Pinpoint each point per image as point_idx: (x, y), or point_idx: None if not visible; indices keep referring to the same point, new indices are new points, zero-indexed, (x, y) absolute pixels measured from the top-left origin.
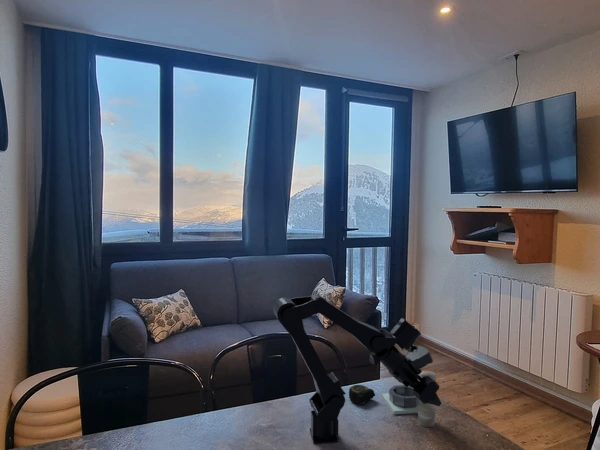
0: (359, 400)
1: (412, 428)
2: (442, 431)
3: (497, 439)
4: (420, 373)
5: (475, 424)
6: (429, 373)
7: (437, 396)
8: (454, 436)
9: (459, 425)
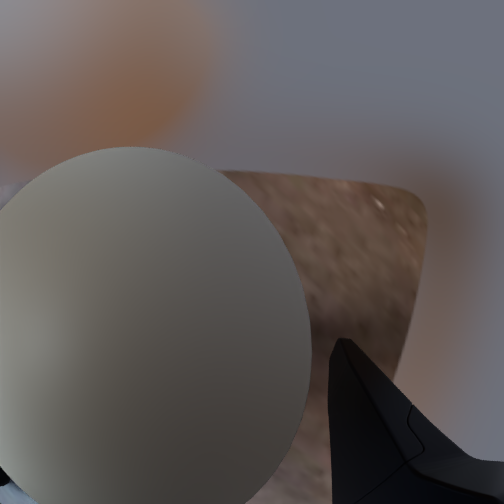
0: (2, 485)
1: None
2: None
3: (406, 198)
4: (5, 449)
5: (310, 184)
6: (78, 257)
7: (410, 406)
8: (356, 325)
9: (295, 241)
